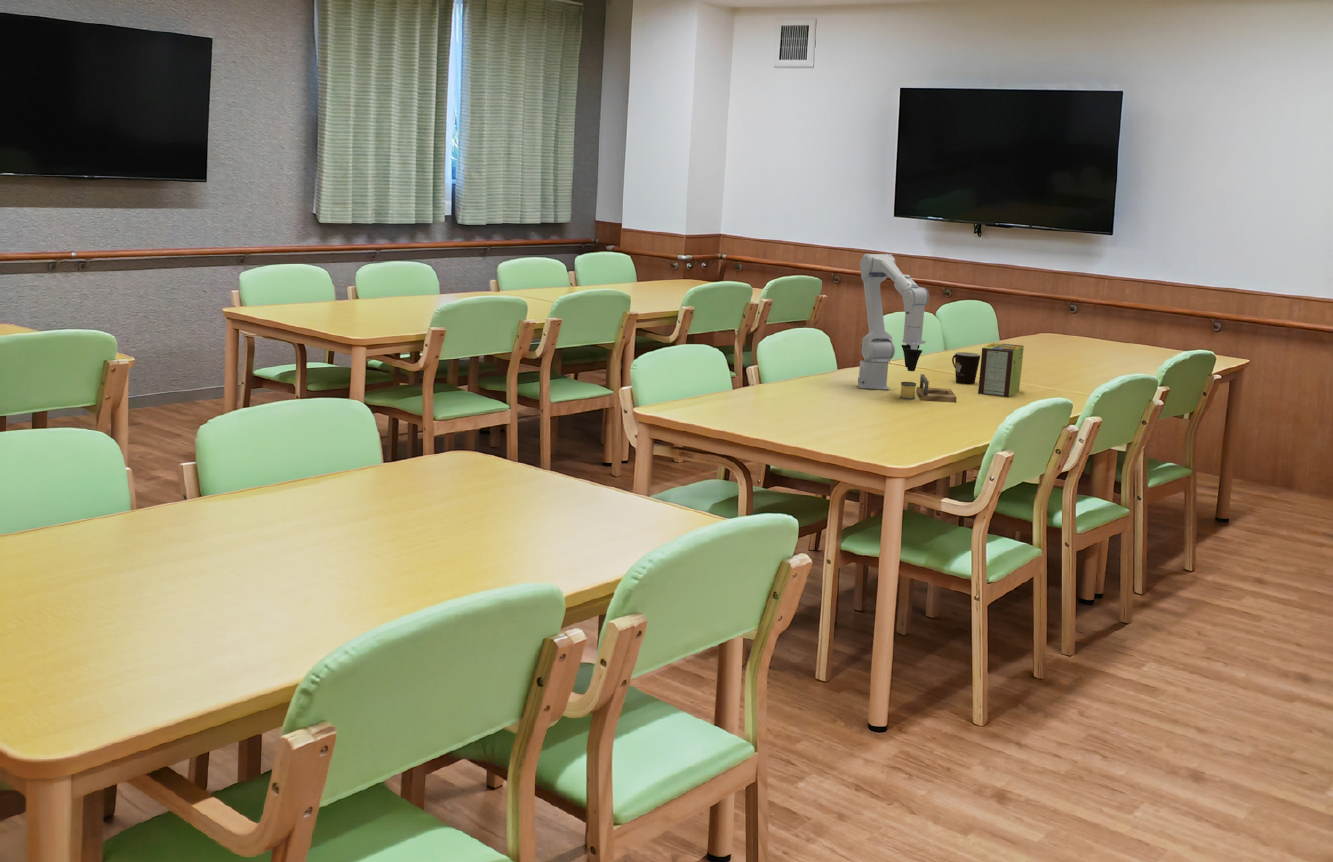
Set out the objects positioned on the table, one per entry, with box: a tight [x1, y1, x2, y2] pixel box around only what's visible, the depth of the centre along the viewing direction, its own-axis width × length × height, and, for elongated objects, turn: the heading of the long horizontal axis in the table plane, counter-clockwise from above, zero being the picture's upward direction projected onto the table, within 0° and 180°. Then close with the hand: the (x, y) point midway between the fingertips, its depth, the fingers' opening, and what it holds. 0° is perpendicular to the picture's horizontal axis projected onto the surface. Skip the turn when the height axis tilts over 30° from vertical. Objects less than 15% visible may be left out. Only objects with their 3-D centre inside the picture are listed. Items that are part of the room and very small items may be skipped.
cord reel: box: [899, 381, 917, 401], centre depth 383 cm, size 5×5×5 cm
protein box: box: [977, 342, 1025, 398], centre depth 400 cm, size 10×15×16 cm
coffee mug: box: [951, 351, 982, 385], centre depth 418 cm, size 12×9×10 cm
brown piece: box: [915, 373, 958, 403], centre depth 387 cm, size 11×15×6 cm
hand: (909, 369), depth 381 cm, fingers open, 7 cm apart
